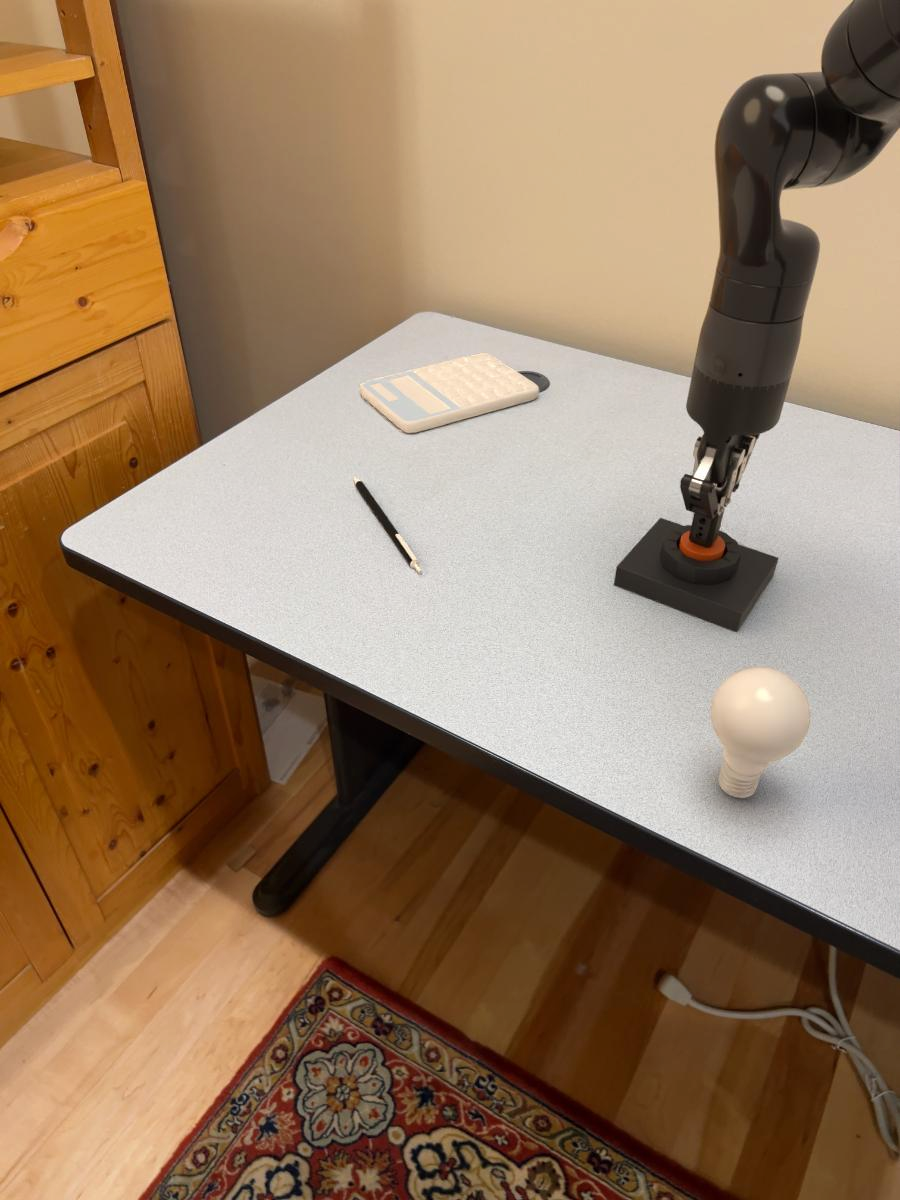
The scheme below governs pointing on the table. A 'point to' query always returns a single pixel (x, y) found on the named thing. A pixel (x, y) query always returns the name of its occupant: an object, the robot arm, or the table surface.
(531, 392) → the calculator
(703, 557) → the button
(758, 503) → the table surface
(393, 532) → the pen
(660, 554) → the housing
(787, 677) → the lightbulb
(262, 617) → the table surface
